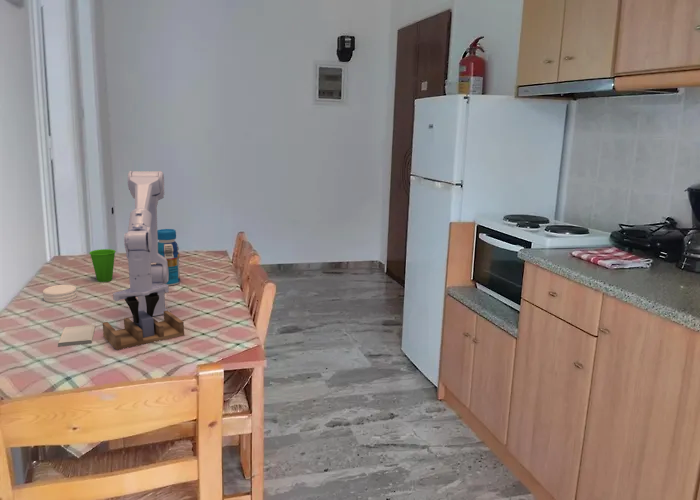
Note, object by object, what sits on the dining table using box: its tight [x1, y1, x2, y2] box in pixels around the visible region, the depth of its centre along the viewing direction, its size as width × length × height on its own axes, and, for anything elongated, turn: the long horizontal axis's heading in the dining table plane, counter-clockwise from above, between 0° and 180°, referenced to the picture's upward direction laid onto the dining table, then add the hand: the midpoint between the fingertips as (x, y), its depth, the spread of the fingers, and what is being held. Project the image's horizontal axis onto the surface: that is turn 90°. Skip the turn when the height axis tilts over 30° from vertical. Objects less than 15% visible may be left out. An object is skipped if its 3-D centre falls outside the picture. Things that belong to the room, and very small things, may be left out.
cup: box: [89, 248, 117, 283], centre depth 208 cm, size 9×9×11 cm
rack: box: [102, 309, 185, 351], centre depth 156 cm, size 12×18×4 cm, turn 129°
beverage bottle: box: [155, 228, 181, 287], centre depth 205 cm, size 8×8×20 cm
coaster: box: [42, 284, 78, 303], centre depth 187 cm, size 10×10×4 cm
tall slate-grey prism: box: [132, 310, 154, 338], centre depth 155 cm, size 8×3×5 cm, turn 38°
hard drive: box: [57, 324, 96, 348], centre depth 154 cm, size 2×8×12 cm
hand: (143, 320), depth 155 cm, fingers closed on tall slate-grey prism, 3 cm apart
